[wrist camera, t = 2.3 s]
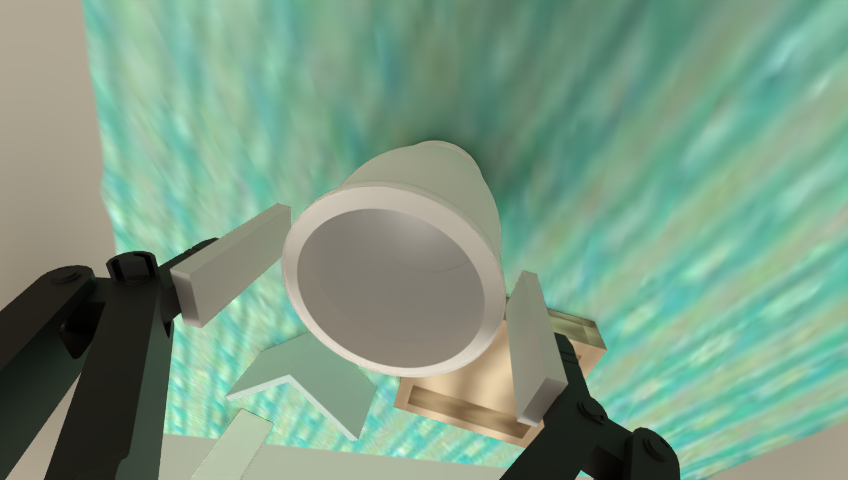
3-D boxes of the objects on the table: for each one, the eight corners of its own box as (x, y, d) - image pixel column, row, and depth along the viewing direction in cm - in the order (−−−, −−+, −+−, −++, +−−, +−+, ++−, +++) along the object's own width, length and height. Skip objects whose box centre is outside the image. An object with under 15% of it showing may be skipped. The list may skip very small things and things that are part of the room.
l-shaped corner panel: (264, 348, 43) (224, 396, 36) (323, 323, 38) (289, 374, 32) (318, 400, 47) (291, 452, 40) (377, 383, 42) (358, 440, 35)
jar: (486, 249, 28) (487, 397, 15) (380, 236, 30) (298, 360, 17) (507, 130, 23) (533, 201, 10) (377, 121, 24) (254, 171, 12)
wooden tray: (594, 322, 30) (607, 350, 27) (526, 420, 39) (529, 449, 36) (430, 275, 31) (423, 296, 28) (400, 381, 40) (393, 406, 37)
